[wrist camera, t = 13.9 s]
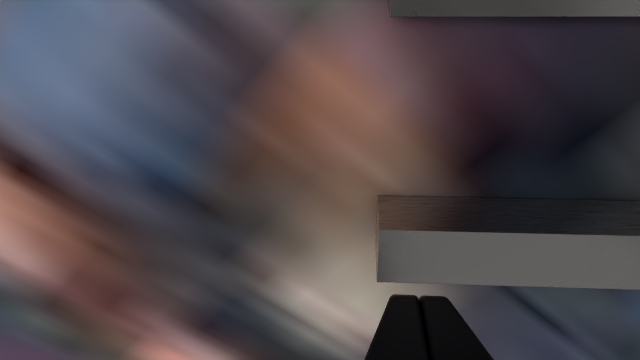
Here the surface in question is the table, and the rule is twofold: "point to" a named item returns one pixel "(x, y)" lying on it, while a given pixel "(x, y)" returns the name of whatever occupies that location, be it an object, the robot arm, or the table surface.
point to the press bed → (509, 205)
